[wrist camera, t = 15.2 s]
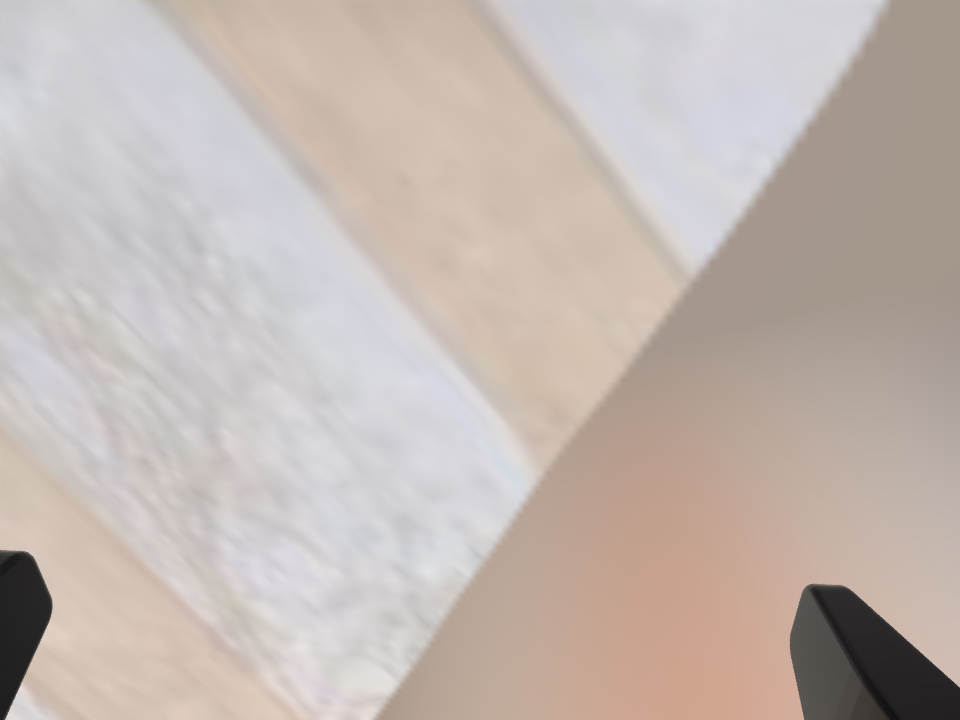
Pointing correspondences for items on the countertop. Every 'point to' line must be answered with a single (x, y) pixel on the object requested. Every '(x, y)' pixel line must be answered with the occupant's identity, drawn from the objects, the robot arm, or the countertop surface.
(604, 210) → the countertop surface
